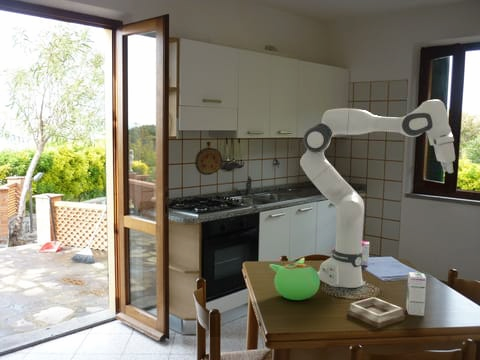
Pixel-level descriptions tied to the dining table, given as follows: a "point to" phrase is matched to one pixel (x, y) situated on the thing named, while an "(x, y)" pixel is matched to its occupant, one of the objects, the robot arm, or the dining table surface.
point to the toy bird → (296, 280)
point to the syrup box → (416, 293)
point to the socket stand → (376, 312)
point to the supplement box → (365, 253)
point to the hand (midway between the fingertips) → (448, 172)
